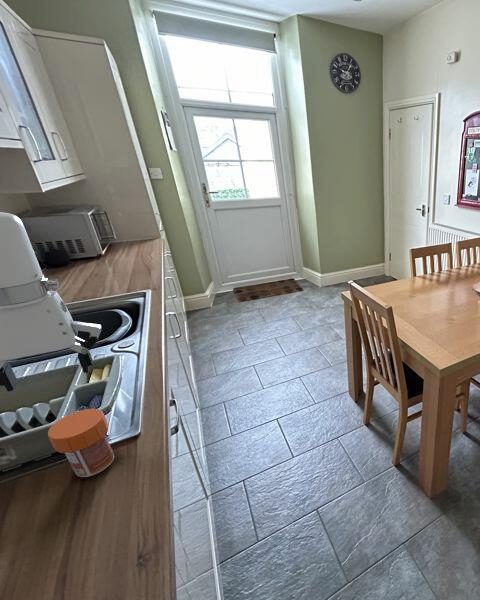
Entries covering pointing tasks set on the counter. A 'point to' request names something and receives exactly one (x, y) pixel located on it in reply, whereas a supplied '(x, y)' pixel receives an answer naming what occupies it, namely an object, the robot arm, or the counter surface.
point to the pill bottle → (91, 458)
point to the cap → (78, 430)
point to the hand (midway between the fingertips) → (51, 377)
